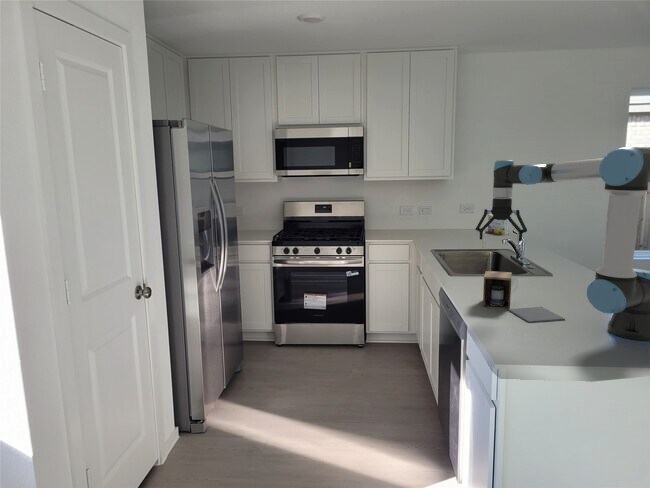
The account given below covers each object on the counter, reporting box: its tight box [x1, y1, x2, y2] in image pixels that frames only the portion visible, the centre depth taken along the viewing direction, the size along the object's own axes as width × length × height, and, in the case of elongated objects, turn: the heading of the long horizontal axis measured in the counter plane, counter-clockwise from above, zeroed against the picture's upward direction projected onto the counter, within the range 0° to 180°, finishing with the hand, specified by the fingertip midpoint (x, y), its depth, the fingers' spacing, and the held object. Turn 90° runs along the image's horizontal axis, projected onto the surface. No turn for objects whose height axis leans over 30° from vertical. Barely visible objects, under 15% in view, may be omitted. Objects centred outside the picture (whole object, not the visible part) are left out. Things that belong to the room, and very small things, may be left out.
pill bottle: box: [488, 279, 505, 307], centre depth 196 cm, size 6×6×11 cm
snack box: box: [487, 213, 510, 236], centre depth 381 cm, size 21×6×15 cm, turn 17°
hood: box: [482, 270, 513, 310], centre depth 196 cm, size 11×11×13 cm
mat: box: [507, 306, 566, 324], centre depth 182 cm, size 15×15×1 cm
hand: (500, 247), depth 193 cm, fingers open, 13 cm apart
